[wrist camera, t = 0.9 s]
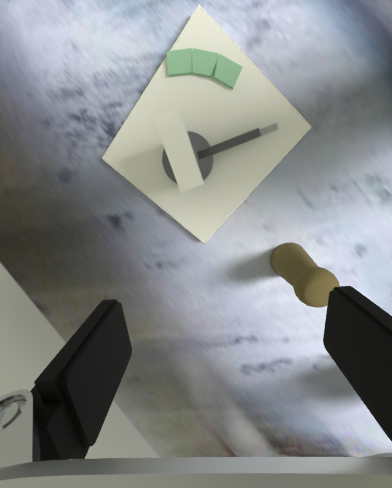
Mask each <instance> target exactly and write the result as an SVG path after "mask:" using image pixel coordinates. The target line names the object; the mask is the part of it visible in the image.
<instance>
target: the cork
mask: <svg viewBox="0 0 392 488" xmlns="http://www.w3.org/2000/svg"><path fill="white" fill-rule="evenodd" d="M270 264H271V266H272V268H273V270H274V271H275V272H276V273H278V274H279V275H280V276H281V277H282V278H283V279H285V280H286V281H287V282H288V283H289V284H291V285H292V286H293V288H294V291H295V294H296V296H297V297H298V298H299V300H300V301H301V302H303V303H304V304H306V305H308V306H312V307H324V306H327V305H328V298H329V292H330V291H331V290H333V288H334V287H340V285H339V282H338V280H337V278H336V277H335V276H334V274H333V273H331V272H330V271H328V270H326V269H324V268H320V267H318V266H317V265H316V263H315V262H314V261H313V260H312V259H311V257H310V256H309V255H308V254H307V253H306V251H305V250H304V249H303V248H302V247H301V246H300V245H298V244H295V243H285V244H282V245H280V246H279V247H277V248H276V249H275V250H274V251H273V253H272V255H271V258H270Z"/></svg>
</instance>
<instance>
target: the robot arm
mask: <svg viewBox="0 0 392 488" xmlns="http://www.w3.org/2000/svg"><path fill="white" fill-rule="evenodd" d="M323 343H324V346H325V348H326V350H327V352H328V353H329V354H330V356H331V357H332V359H333V360H334V361H335V363H336V364H337V366H338V367H339V369H340V370H341V371H342V373H343V374H344V376H345V377H346V378H347V380H348V381H349V383H350V384H351V385H352V387H353V388H354V390H355V391H356V392H357V394H358V395H359V397H360V398H361V400H362V401H363V402H364V404H365V405H366V407H367V408H368V409H369V411H370V412H371V414H372V415H373V416H374V418H375V419H376V421H377V422H378V424H379V425H380V426H381V428H382V429H383V431H384V432H385V433H386V435H387V436H388V437H389V439H390V440H391V441H392V316H391V315H389V314H388V313H387V312H385V311H384V310H383V309H381V308H380V307H379V306H377V305H376V304H375V303H373V302H372V301H370V300H369V299H368V298H366V297H365V296H364V295H362V294H361V293H360V292H358V291H357V290H356V289H354V288H353V287H351V286H341V287H334V288H333V290H331V291H330V292H329V298H328V306H327V314H326V322H325V330H324V338H323ZM131 354H132V347H131V343H130V339H129V335H128V330H127V326H126V322H125V318H124V313H123V309H122V305H121V303H120V302H118V301H117V300H116V299H113V300H103V301H101V303H100V304H99V305H98V306H97V307H96V309H95V310H94V311H93V312H92V313H91V314H90V316H89V317H88V318H87V319H86V320H85V322H84V323H83V324H82V325H81V326H80V328H79V329H78V330H77V331H76V332H75V334H74V335H73V336H72V337H71V338H70V340H69V341H68V342H67V343H66V344H65V346H64V347H63V348H62V349H61V350H60V352H59V353H58V354H57V355H56V356H55V358H54V359H53V360H52V361H51V362H50V364H49V365H48V366H47V367H46V368H45V370H44V371H43V372H42V373H41V374H40V376H39V377H38V378H37V379H36V380H35V382H34V383H35V386H34V388H33V389H32V390H31V391H28V390H17V391H13V392H11V393H9V394H6V395H4V396H2V397H0V488H392V457H190V458H103V459H85V456H86V454H87V452H88V449H89V447H90V446H93V445H94V443H95V442H96V439H97V437H98V435H99V432H100V430H101V428H102V425H103V423H104V420H105V418H106V416H107V413H108V411H109V408H110V406H111V403H112V401H113V399H114V396H115V394H116V391H117V389H118V386H119V384H120V382H121V379H122V377H123V374H124V372H125V370H126V367H127V365H128V362H129V360H130V357H131ZM69 459H73V460H69Z"/></svg>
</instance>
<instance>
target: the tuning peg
mask: <svg viewBox="0 0 392 488" xmlns="http://www.w3.org/2000/svg"><path fill="white" fill-rule="evenodd" d="M154 121H155V124H156V126H157V129H158V132H159V135H160V137H161V140H162V143H163V146H164V150H163V155H162V163H163V167H164V170H165V172H166V174H167V176H168V177H169V178H170V179H171V180H172V181H173V182H175V183H176V184H178V186H179V189H180V192H184V191H187V190H189V189H192V188H195V187H197V186H200V185H203V184H204V180H205V179H206V178H207V177H208V175H209V174H210V172H211V169H212V166H213V155H215V154H217V153H220V152H222V151H225V150H228V149H230V148H233V147H235V146H238V145H241V144H243V143H246V142H248V141H251V140H253V139H256V138H259V137H260V136H261V134H260V130H259V128H257V129H254V130H252V131H249V132H247V133H244V134H242V135H239V136H236V137H234V138H231V139H229V140H226V141H224V142H221V143H219V144H216V145H214V146H211V147H210V145H209V143H208V142H207V140H206V139H205V138H204V137H202V136H201V135H200V134H198V133H195V132H191V131H187V129H186V126H185V123H184V121H183V119H182V116H181V114H180V111H179V109H178V107H177V108H174V109H172V110H170V111H167V112H165V113H163V114H160V115H158V116H156V117H154Z"/></svg>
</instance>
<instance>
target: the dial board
mask: <svg viewBox="0 0 392 488" xmlns="http://www.w3.org/2000/svg"><path fill="white" fill-rule="evenodd" d="M177 107H178V109H179V111H180V114H181V116H182V119H183V121H184V123H185V126H186V129H187V131H191V132H195V133H198V134H200V135H201V136H202V137H204V138H205V139H206V140H207V142H208V143H209V145H210V147H211V146H214V145H216V144H219V143H221V142H224V141H226V140H229V139H231V138H234V137H236V136H239V135H242V134H244V133H247V132H249V131H252V130H254V129H257V128H259V130H260V134H261V136H260V137H259V138H256V139H253V140H251V141H248V142H246V143H243V144H241V145H238V146H235V147H233V148H230V149H228V150H225V151H222V152H220V153H217V154H215V155H213V166H212V169H211V172H210V174H209V175H208V177H207V178H206V179H205V180H204V184H203V185H200V186H197V187H195V188H192V189H189V190H187V191H184V192H180V189H179V186H178V184H176V183H175V182H173V181H172V180H171V179H170V178H169V177H168V176H167V174H166V172H165V170H164V167H163V163H162V155H163V150H164V146H163V143H162V140H161V137H160V135H159V132H158V129H157V126H156V124H155V121H154V117H156V116H158V115H160V114H163V113H165V112H167V111H170V110H172V109H174V108H177ZM311 128H312V126H311V125H310V124H309V123H308V122H307V121H306V120H305V119H304V118H303V117H302V115H301V114H300V113H299V112H298V111H297V110H296V109H295V108H294V107H293V106H292V105H291V104H290V102H289V101H288V100H287V99H286V98H285V97H284V96H283V95H282V94H281V93H280V92H279V90H278V89H277V88H276V87H275V86H274V85H273V84H272V83H271V82H270V81H269V80H268V78H267V77H266V76H265V75H264V74H263V73H262V72H261V71H260V70H259V69H258V68H257V66H256V65H255V64H254V63H253V62H252V61H251V60H250V59H249V58H248V57H247V56H246V54H245V53H244V52H243V51H242V50H241V49H240V48H239V47H238V46H237V45H236V44H235V42H234V41H233V40H232V39H231V38H230V37H229V36H228V35H227V34H226V33H225V32H224V30H223V29H222V28H221V27H220V26H219V25H218V24H217V23H216V22H215V21H214V20H213V18H212V17H211V16H210V15H209V14H208V13H207V12H206V11H205V10H204V9H203V8H202V6H201V5H200V4H199V5H198V7H197V9H196V10H195V12H194V13H193V15H192V16H191V18H190V20H189V21H188V23H187V24H186V26H185V27H184V29H183V31H182V32H181V34H180V35H179V37H178V39H177V40H176V42H175V43H174V45H173V46H172V48H171V50H170V51H166V58H165V59H164V61H163V62H162V64H161V65H160V67H159V69H158V70H157V72H156V73H155V75H154V76H153V78H152V80H151V81H150V83H149V84H148V86H147V88H146V89H145V91H144V92H143V94H142V95H141V97H140V99H139V100H138V102H137V103H136V105H135V107H134V108H133V110H132V111H131V113H130V114H129V116H128V118H127V119H126V121H125V122H124V124H123V125H122V127H121V129H120V130H119V132H118V133H117V135H116V137H115V138H114V140H113V141H112V143H111V144H110V146H109V148H108V149H107V151H106V152H105V154H104V155H103V157H102V159H103V160H104V161H105V162H107V163H108V164H109V165H110V166H111V167H113V168H114V169H115V170H116V171H117V172H119V173H120V174H121V175H122V176H123V177H125V178H126V179H127V180H128V181H129V182H131V183H132V184H133V185H134V186H135V187H137V188H138V189H139V190H140V191H141V192H143V193H144V194H145V195H146V196H147V197H149V198H150V199H151V200H152V201H153V202H155V203H156V204H157V205H158V206H159V207H161V208H162V209H163V210H164V211H165V212H167V213H168V214H169V215H170V216H172V217H173V218H174V219H175V220H176V221H178V222H179V223H180V224H181V225H182V226H184V227H185V228H186V229H187V230H188V231H190V232H191V233H192V234H193V235H194V236H196V237H197V238H198V239H199V240H200V241H202V242H203V243H204V244H205V243H206V241H207V240H208V239H209V238H210V237H211V236H212V235H213V234H214V233H215V232H216V231H217V230H218V228H219V227H220V226H221V225H222V224H223V223H224V222H225V221H226V220H227V219H228V218H229V217H230V215H231V214H232V213H233V212H234V211H235V210H236V209H237V208H238V207H239V206H240V205H241V204H242V202H243V201H244V200H245V199H246V198H247V197H248V196H249V195H250V194H251V193H252V192H253V190H254V189H255V188H256V187H257V186H258V185H259V184H260V183H261V182H262V181H263V180H264V179H265V177H266V176H267V175H268V174H269V173H270V172H271V171H272V170H273V169H274V168H275V167H276V166H277V164H278V163H279V162H280V161H281V160H282V159H283V158H284V157H285V156H286V155H287V154H288V153H289V151H290V150H291V149H292V148H293V147H294V146H295V145H296V144H297V143H298V142H299V141H300V140H301V138H302V137H303V136H304V135H305V134H306V133H307V132H308V131H309V130H310V129H311Z"/></svg>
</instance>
